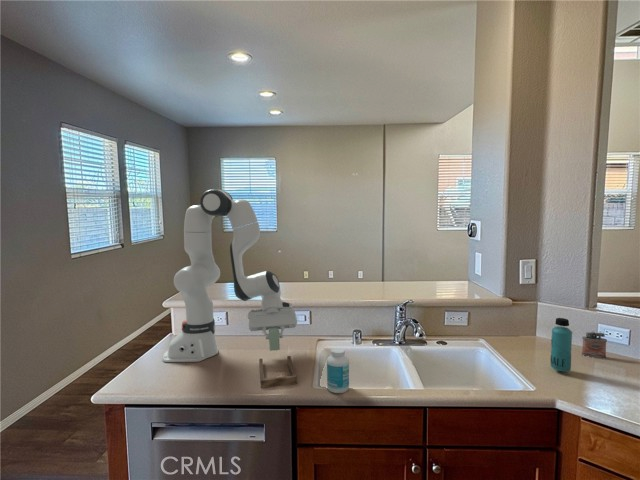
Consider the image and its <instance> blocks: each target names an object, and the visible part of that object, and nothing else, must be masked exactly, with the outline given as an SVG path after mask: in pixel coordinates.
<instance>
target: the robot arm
mask: <svg viewBox="0 0 640 480" xmlns="http://www.w3.org/2000/svg"><path fill="white" fill-rule="evenodd" d="M185 211H186V212H185V216H184V221H183V223H184V225H183V242H184V243H183V247H184V252H185V253H186V254H187V255H188V257H189V260H190V265H188V266H185V267H183V268H181V269H179V270H178V271H177V272H176V273H175V275H174V277H173V285H174V287H175V289H176V290H177V291H178V292H180V294H181V295H182V298H183V301H184V305H185V319H186V320H183V321H182V323H181V332H180V333H178V334H177V335H176V336H175V337H173V338H172V339H171V341H170V342H169V344H168V349H167V350H166V351H165V352H164V353H163V355H162V361H163V363H187V362H188V363H189V362H190V363H193V362H194V363H195V362H199V363H200V362H202V361H203V360H205V359H208V358H209V359H210V358H211V357H213V356H216V355H217V354H218V353H219V351H220V350H219V348H218V345H217V340H216V336H215V335H216V334H215V333H216V322H215V319H214V303H213V301H212V300H211V299H210V297H209V295H208V292H207V288H208V287H210V286H213V285H214V284H215V283H216V282H217V281H218V280H219V279H220V278H221V270H220V268H219V266H218V264H217V263H216V261H215V257H214V254H213V247H212V245H213V243H212V241H213V240H212V237H213V236H212V225H213V224H212V222H213V219H214V218H217V217H221V216H223V217H226V218H228V221H229V222H230V225H231V227H232V228H231V229H232V232H233V239H232V242H230V244H229V254H230V263H231V270H232V278H233V290H234V294H235V296H236V298H237V299H238V300H240V301H243V302H246V301H249V300H251V299H253V298H257V297H261V309H259V308H258V309H251V310H250V311H249V312H248V313H247V319H248V320H249V321H248V330H249V331H250V332H257V331H258V332H260V331H262V334H263V335H264V336H265V340H269V333H267V331H269V328H279V330H280V332H279V339H283V336H284V335H283V334H284V332H285V329H295V328H296V327H297V325H298V320H297V319H298V318H297V316H296V312H295V310H294V309H293V304H292V303H291V302H289V301H288V302H287V301H284V300H283V301H282V299H281V295H282V294H281V293H282V292H281V285H280V281H279V278H278V276H277V274H275V273H273V272H272V271H270V270H266V271H265V270H264V271H261V272H257V273H253V274H251V275H248V276H247V275H245V272H244V271H245V270H244V264H243V257H244V254H245V252H246V251H247V250H248V249H249V250H250V248H251V247H253V246H254V245H255V244H256V243H257V242H258V240H259V238H260V237H261V228H260V224H259V220H258V218H257V216H256V213H255V211H254V209H253V206H252V205H251V203H250V201H248V200H246V199H237V200H233V197H232V195H230V193H229V192H227V191H225V190H223V189H219V188H217V189H215V188H211V189H208V190H206V191H205V192H204V193H203V194H202V195H201V197H200V200H199V204H195V205H194V204H193V205H191V206H189V207H188V208H187V209H186V210H185Z"/></svg>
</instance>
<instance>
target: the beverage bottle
mask: <svg viewBox="0 0 640 480" xmlns="http://www.w3.org/2000/svg"><path fill="white" fill-rule="evenodd" d="M555 325H556V326H554V327H552V329H551V337H550V338H551V339H550V342H551V344H550V346H551V348H550V363H549V364H550V367H551V368H552V369H554V370H556V371H558V372H559V371H560V372H570V371H571V369H572V343H573V342H572V341H573V331H572V330H571V329H570V328H568V327H569V326H570V321H569V319H567V318H564V317H556V318H555Z"/></svg>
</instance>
